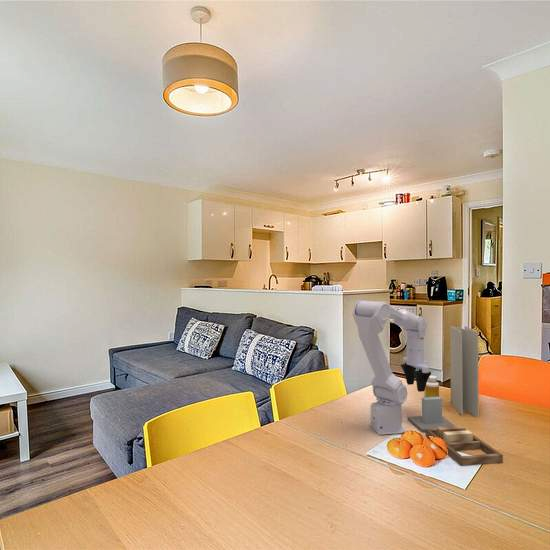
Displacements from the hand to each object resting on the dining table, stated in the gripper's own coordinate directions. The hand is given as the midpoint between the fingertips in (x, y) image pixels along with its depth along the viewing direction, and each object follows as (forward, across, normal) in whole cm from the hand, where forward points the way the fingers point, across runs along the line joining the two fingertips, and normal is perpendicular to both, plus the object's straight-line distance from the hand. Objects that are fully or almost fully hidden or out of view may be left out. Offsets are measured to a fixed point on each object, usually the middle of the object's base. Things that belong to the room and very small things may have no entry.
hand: (415, 387), depth 129 cm
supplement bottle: (+11, +14, -14) cm, 22 cm away
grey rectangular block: (+9, -7, -2) cm, 12 cm away
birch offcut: (+10, -22, -2) cm, 24 cm away
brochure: (+11, +4, -21) cm, 24 cm away
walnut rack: (+10, -23, -2) cm, 25 cm away
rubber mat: (+10, -7, -2) cm, 13 cm away
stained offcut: (+10, -18, -2) cm, 21 cm away
